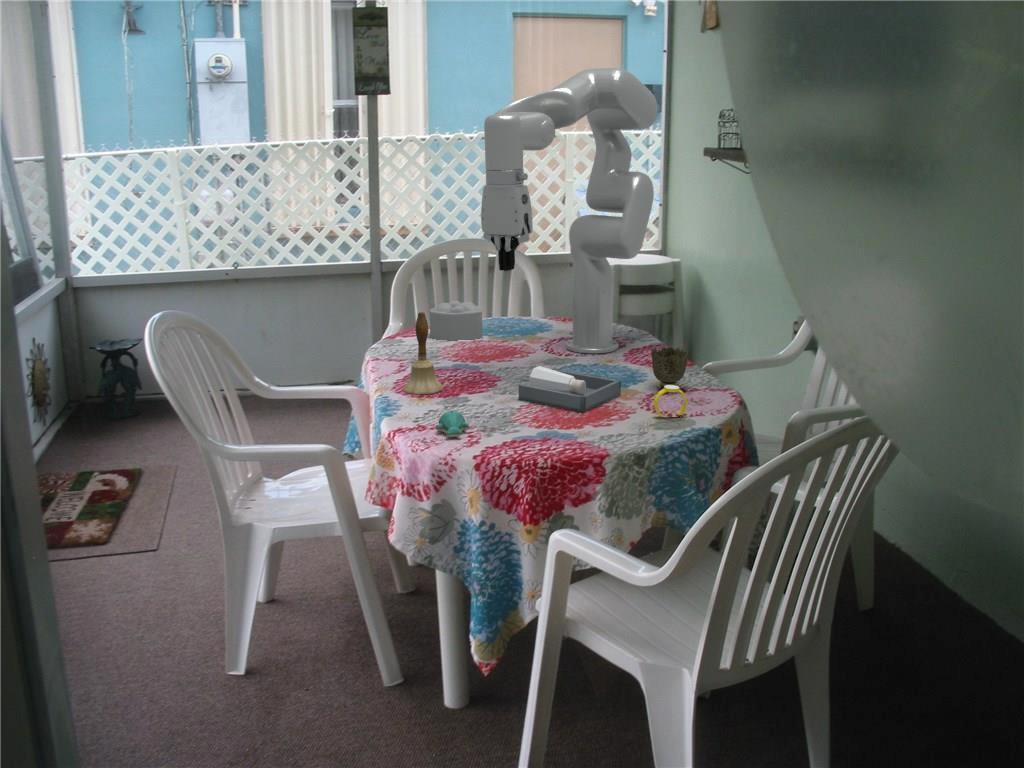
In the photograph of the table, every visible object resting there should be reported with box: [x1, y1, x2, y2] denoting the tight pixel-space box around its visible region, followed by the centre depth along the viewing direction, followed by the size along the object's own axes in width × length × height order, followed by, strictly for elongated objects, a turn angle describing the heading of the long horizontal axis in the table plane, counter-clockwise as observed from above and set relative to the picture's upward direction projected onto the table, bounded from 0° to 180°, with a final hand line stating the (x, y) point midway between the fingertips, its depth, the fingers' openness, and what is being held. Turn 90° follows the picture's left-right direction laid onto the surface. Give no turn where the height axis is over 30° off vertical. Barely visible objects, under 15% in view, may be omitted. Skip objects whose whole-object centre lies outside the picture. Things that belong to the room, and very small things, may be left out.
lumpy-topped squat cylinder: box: [429, 300, 483, 342], centre depth 237 cm, size 10×13×9 cm
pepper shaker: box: [528, 365, 586, 394], centre depth 187 cm, size 5×5×11 cm
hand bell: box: [402, 311, 445, 395], centre depth 190 cm, size 8×8×16 cm
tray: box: [518, 369, 622, 414], centre depth 185 cm, size 14×15×3 cm
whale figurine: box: [435, 410, 470, 438], centre depth 165 cm, size 6×7×4 cm
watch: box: [653, 385, 688, 418], centre depth 172 cm, size 6×3×6 cm, turn 96°
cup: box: [650, 345, 689, 389], centre depth 190 cm, size 8×7×8 cm
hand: (506, 269), depth 192 cm, fingers closed
